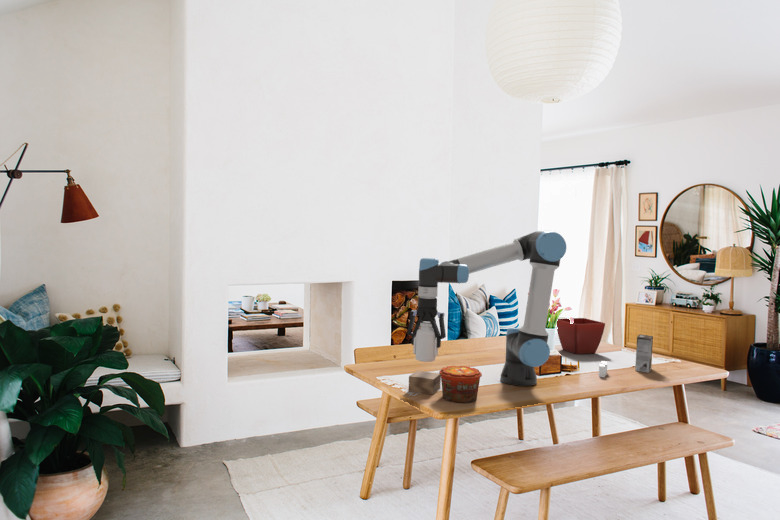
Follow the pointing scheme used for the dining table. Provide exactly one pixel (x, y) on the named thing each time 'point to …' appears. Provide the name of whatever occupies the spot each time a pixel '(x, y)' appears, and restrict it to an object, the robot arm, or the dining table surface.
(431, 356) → the pill bottle
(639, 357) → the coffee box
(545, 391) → the dining table surface
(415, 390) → the walnut block
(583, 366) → the dining table surface
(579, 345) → the plant pot
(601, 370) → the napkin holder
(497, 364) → the dining table surface
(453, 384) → the food container
